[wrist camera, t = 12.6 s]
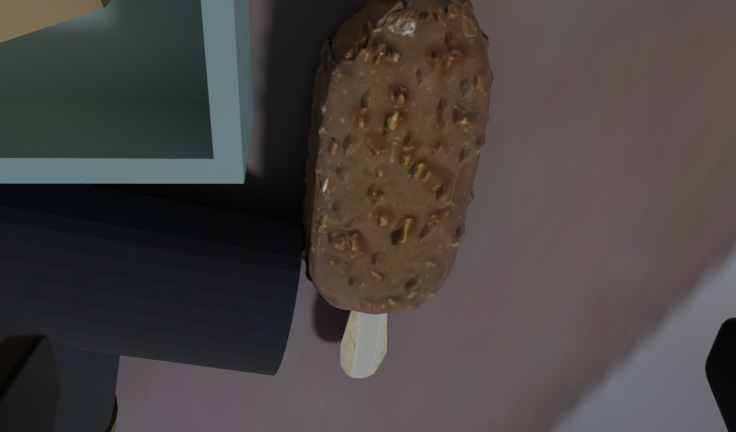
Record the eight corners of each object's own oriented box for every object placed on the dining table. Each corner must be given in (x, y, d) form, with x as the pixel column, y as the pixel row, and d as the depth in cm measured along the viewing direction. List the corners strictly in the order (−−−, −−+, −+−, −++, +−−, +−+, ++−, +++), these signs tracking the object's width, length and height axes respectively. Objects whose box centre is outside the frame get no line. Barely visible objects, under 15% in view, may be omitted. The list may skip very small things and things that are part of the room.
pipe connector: (233, 539, 24) (-250, 500, 21) (243, 424, 28) (-152, 378, 25) (303, 286, 18) (-337, 182, 15) (302, 194, 23) (-192, 98, 20)
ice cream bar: (442, 365, 27) (536, -21, 19) (400, 444, 23) (496, 8, 15) (323, 317, 28) (365, -57, 20) (267, 384, 25) (293, -38, 17)
